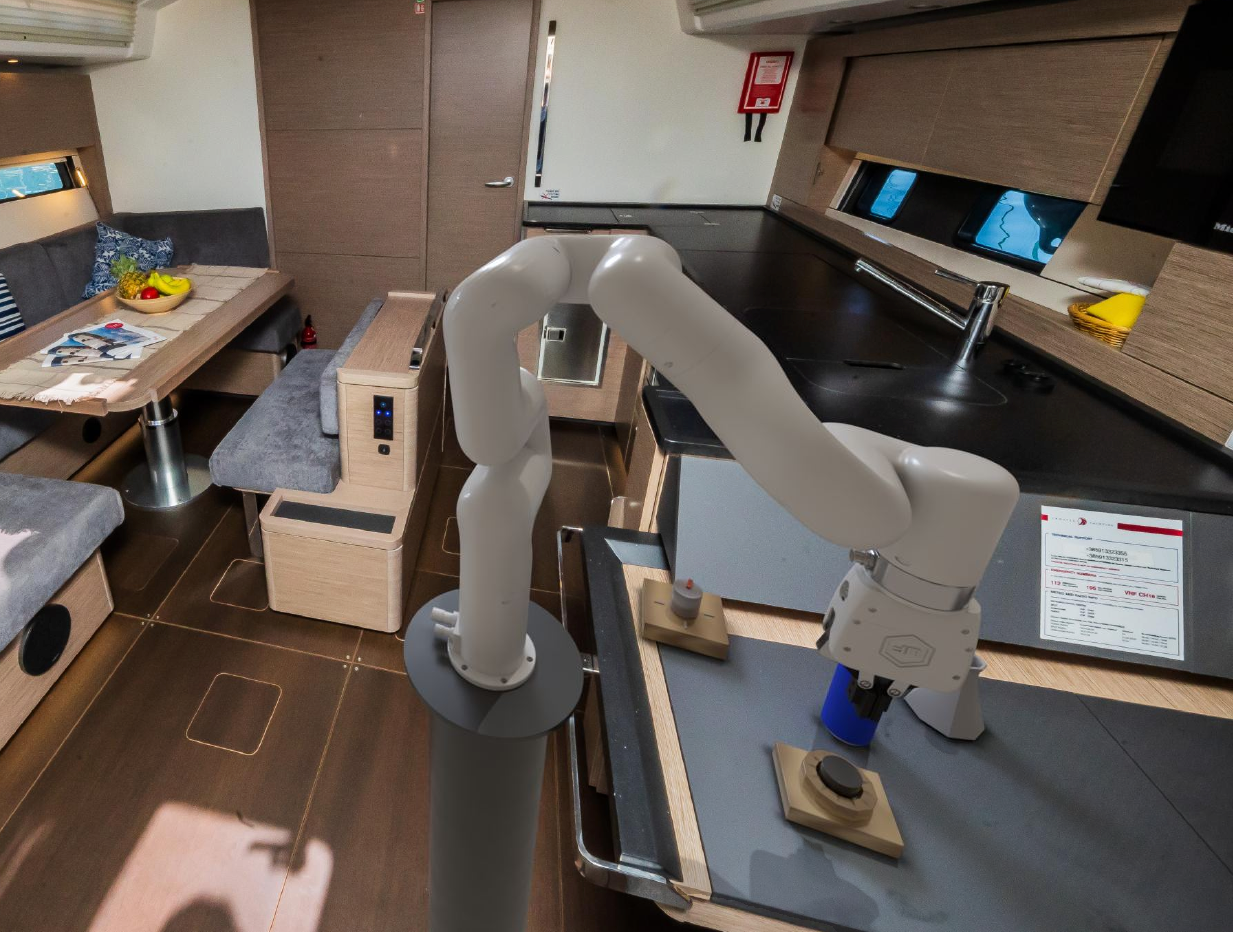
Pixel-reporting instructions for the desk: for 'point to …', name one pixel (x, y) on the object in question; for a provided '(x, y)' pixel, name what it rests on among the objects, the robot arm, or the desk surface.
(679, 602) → the knob
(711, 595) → the knob panel
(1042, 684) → the desk surface
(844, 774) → the button
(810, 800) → the button block
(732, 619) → the desk surface
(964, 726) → the flask
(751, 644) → the desk surface
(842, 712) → the beverage can
